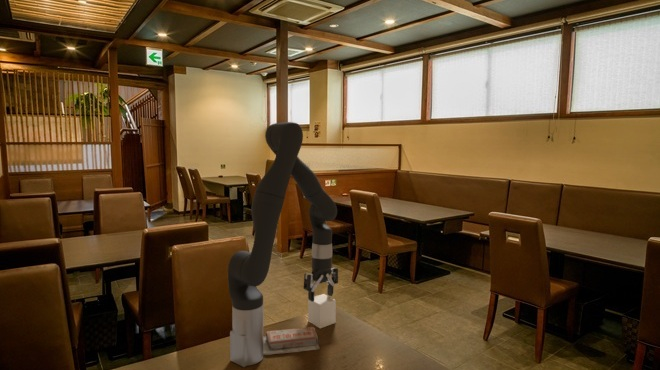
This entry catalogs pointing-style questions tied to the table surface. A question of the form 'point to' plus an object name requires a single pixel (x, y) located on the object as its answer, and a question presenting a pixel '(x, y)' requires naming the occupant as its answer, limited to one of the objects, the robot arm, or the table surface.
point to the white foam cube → (322, 311)
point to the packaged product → (290, 340)
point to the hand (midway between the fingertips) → (320, 298)
